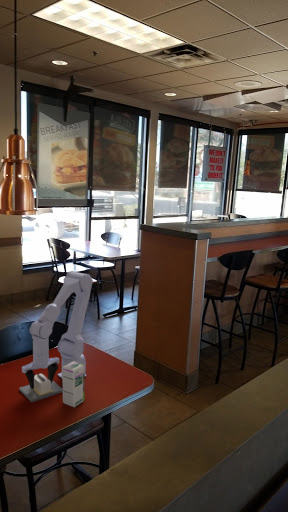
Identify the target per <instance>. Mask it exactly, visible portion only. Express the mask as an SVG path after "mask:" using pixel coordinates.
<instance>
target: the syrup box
mask: <svg viewBox="0 0 288 512" xmlns="http://www.w3.org/2000/svg"><path fill="white" fill-rule="evenodd" d="M62 371H63V379H62V389H63V392H62V402H63V403H64V405H65V404H66V405H67V406H70V407H73V408H76V407H77V406H79V405H80V404H81V403H84V401H85V377H84V365H83V364H81V363H78V362H74V361H73V362H71V363H69V364H67V365H65V366H63V367H62V366H61V372H62Z"/></svg>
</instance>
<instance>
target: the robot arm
mask: <svg viewBox="0 0 288 512" xmlns="http://www.w3.org/2000/svg"><path fill="white" fill-rule="evenodd" d="M93 282H94V280H93V278H92V276H91V275H90V274H89V273H83V272H82V273H81V272H77V271H74V270H70V271H68V272H67V274H66V275H65V277H63V285H62V286H61V288H60V290H59V292H58V294H57V295H56V297H55V298H54V301H53V302H52V303H50V304H47V306H45V309H44V310H43V312H42V313H41V314H40V316H39V318H38V319H37V320H35V321H33V322H32V323H31V325H30V327H29V333H30V335H31V339H32V354H33V355H32V357H33V358H32V359H33V360H32V361H31V362H30V363H28V364H26V365H23V366H21V372H22V373H23V374H24V375H25V376H26V378H27V381H28V385H30V388H31V389H34V377H35V375H36V374H35V373H34V370H37V369H47V378H48V379H49V380H50V381H51V383H52V382H53V381H54V377H55V375H56V373H57V371H58V370H59V364H60V358H59V357H56V356H55V357H49V356H50V354H49V353H50V352H49V337H50V335H52V333H53V327H54V324H55V322H56V320H57V319H58V318H59V317H60V314H61V313H62V311H61V307H62V306H63V305H64V304H65V303H66V301H67V300H68V298H69V297H70V296H71V295H72V294H73V293H74V294H75V295H76V296H75V300H74V303H73V304H74V305H73V308H72V312H71V316H70V320H69V324H68V328H67V331H66V332H65V333H63V334H62V335H61V338H60V340H59V342H58V344H57V351H58V352H59V353H60V356H61V368H62V367H63V366H65V365H67V364H69V363H71V362H73V361H74V362H78V363H81V364H83V365H84V378H85V377H87V373H86V365H87V364H86V363H87V362H86V357H85V355H84V354H83V353H84V343H85V340H84V338H83V337H82V335H81V332H82V329H83V324H84V321H85V316H86V312H87V308H88V304H89V300H90V296H91V290H92V285H93ZM57 376H58V377H60V378H61V380H63V371H62V370H61V372H60V373H57Z"/></svg>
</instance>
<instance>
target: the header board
mask: <svg viewBox="0 0 288 512" xmlns="http://www.w3.org/2000/svg"><path fill="white" fill-rule="evenodd" d="M19 391H20V392H21V393H22V395H24V397H25V398H26V399H28V400H29V402H30V403H35V402H37V401H41V400H43V399H46V398H49V397H53V396H56V395H58V394H60V393H61V394H62V393H63V387H61V386H60V385H59V384H57V382H55V381H54V380H53V382H52V383H51V391H50V392H47V393H44V394H40V393H39V392H38V391H37V390H36V389H35V388H34V389H31V388H30V385H29V384H28V385H25V386H24V385H23V386H20V387H19Z"/></svg>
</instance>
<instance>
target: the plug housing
mask: <svg viewBox="0 0 288 512" xmlns="http://www.w3.org/2000/svg"><path fill="white" fill-rule="evenodd" d="M34 388H35V389H36V390H37V391H38V392H39V393H40V394H44V393H47V392H50V391H51V381H50V380H49V379H48V377H46V376H45V375H44V374H43V373H39V374H35V377H34Z"/></svg>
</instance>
